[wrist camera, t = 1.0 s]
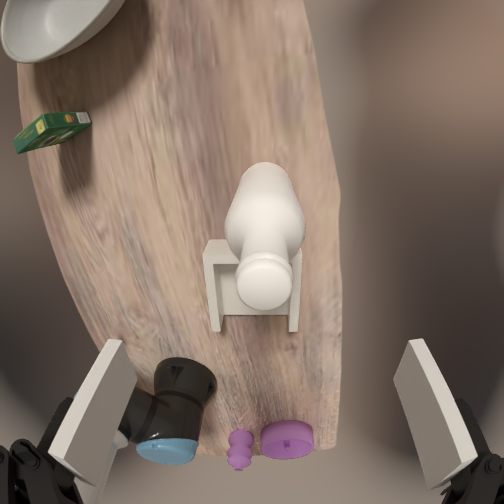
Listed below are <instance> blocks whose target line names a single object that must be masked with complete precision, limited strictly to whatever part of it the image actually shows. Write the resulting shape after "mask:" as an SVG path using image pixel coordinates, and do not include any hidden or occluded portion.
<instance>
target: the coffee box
mask: <svg viewBox="0 0 504 504" xmlns="http://www.w3.org/2000/svg"><path fill="white" fill-rule="evenodd" d="M90 124H92V122H91V119H90V117H89V114H88V112H61V113H43V114H41V115H40V116H39V117H38V118H37V119H35V120H34V121H33V122H32V123H31V124H30V125H28V126H27V127H26V128H25V129H24V130H23V131H22V132H21V133H20V134H18V135H17V136H16V137H15V138H14V139H13V142H14V146H15V149H16V152H17V154H20V153H23V152H27V151H31V150H35V149H39V148H43V147H47V146H52V145H56V144H61V143H63V142H65V141H66V140H68V139H69V138H70V137H72V136H73V135H75V134H76V133H78V132H80V131H81V130H83V129H84V128H86V127H87V126H89V125H90Z"/></svg>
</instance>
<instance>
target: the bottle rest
mask: <svg viewBox="0 0 504 504" xmlns="http://www.w3.org/2000/svg"><path fill="white" fill-rule="evenodd" d="M239 263H240V261H239V260H238V258H237V257H236V256H235V255H234V254H233V253H232V251H231V250H230V248H229V245H228V242H227V240H226V239H221V240H209V241H208V244H207V246H206V248H205V250H204V253H203V264H204V273H205V281H206V289H207V297H208V305H209V312H210V319H211V327H212V331H219V332H221V327H222V322H223V317H224V315H287V316H288V328H289V332H297V330H298V317H299V303H300V288H301V270H302V251H301V247H300V249H299V251H298V253H297V254H296V255H295V257H294V258H293V259H291V260H290V261H289V264H290V265H291V268H292V271H293V276H294V278H293V285H292V293H291V295H290V297H289V299H288V301H287V302H285V303H284V304H283V305H282V306H281V307H278V308H276V309H273V310H267V311H261V310H255V309H252V308H250V307H248V306H247V305H245V304H244V303H243V302H242V301H241V300H240V299H239V296H238V294H237V292H236V283H235V273H236V270H237V267H238V265H239Z"/></svg>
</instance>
